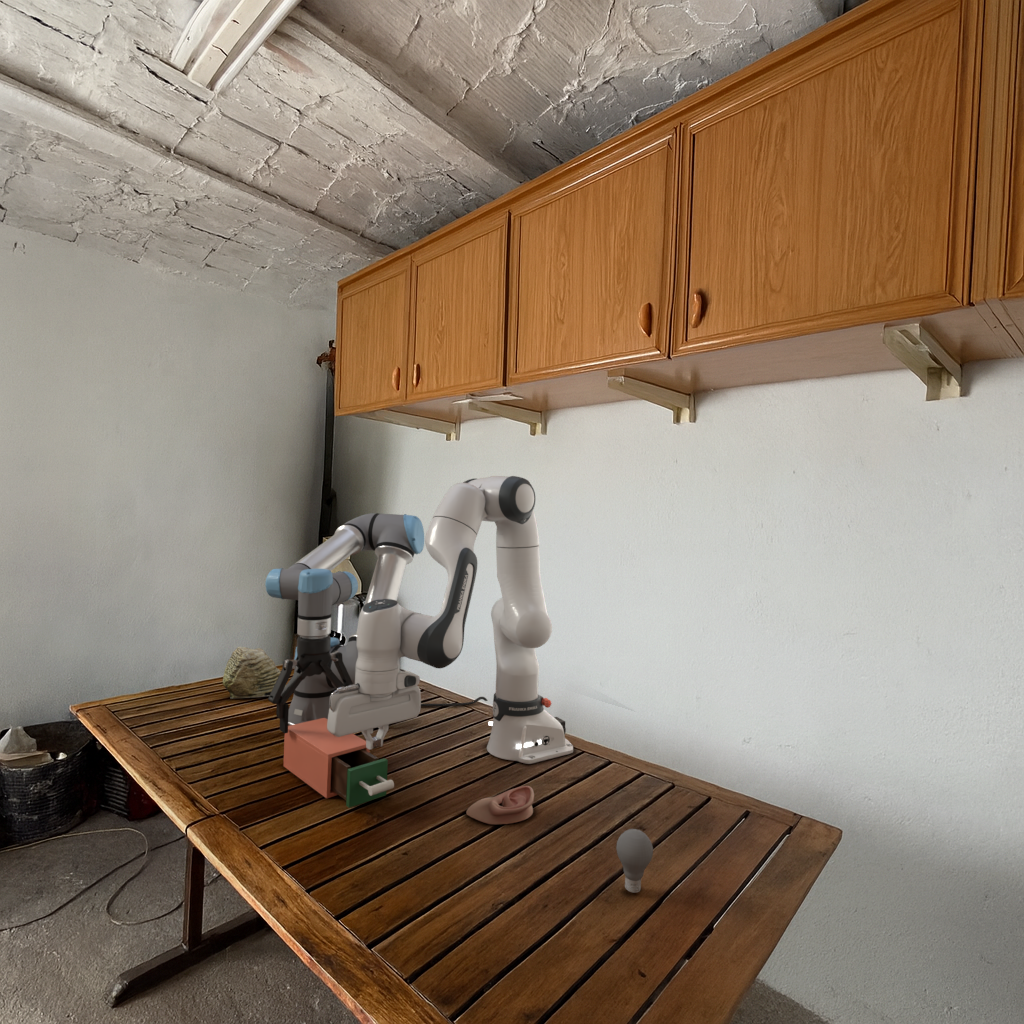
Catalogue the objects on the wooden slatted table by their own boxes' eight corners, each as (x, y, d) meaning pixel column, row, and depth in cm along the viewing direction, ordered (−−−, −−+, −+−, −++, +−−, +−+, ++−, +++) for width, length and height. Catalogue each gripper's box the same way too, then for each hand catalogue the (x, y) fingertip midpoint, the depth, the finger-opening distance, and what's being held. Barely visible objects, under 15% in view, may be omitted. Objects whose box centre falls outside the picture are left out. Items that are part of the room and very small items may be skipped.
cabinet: (368, 785, 140) (370, 743, 140) (326, 798, 133) (328, 754, 133) (323, 755, 155) (324, 717, 155) (283, 766, 148) (284, 726, 148)
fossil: (218, 695, 195) (220, 647, 195) (278, 685, 208) (279, 640, 207) (228, 703, 189) (230, 653, 188) (289, 692, 201) (290, 645, 201)
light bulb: (610, 879, 108) (613, 822, 108) (644, 879, 109) (647, 822, 109) (619, 902, 102) (622, 840, 102) (655, 901, 103) (658, 840, 103)
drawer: (401, 804, 130) (402, 768, 130) (363, 818, 124) (364, 780, 124) (339, 764, 148) (341, 732, 148) (304, 775, 142) (305, 741, 141)
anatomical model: (462, 800, 126) (477, 776, 137) (461, 820, 126) (476, 794, 137) (528, 810, 123) (537, 784, 135) (527, 830, 123) (536, 803, 135)
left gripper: (268, 646, 137) (266, 742, 138) (369, 631, 155) (366, 717, 155) (254, 639, 143) (252, 732, 143) (353, 625, 160) (350, 708, 161)
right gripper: (338, 693, 120) (335, 765, 120) (426, 675, 134) (423, 740, 134) (322, 685, 124) (319, 755, 124) (408, 669, 138) (406, 731, 139)
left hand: (311, 724), depth 149 cm, fingers open, 13 cm apart
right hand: (374, 747), depth 129 cm, fingers closed
